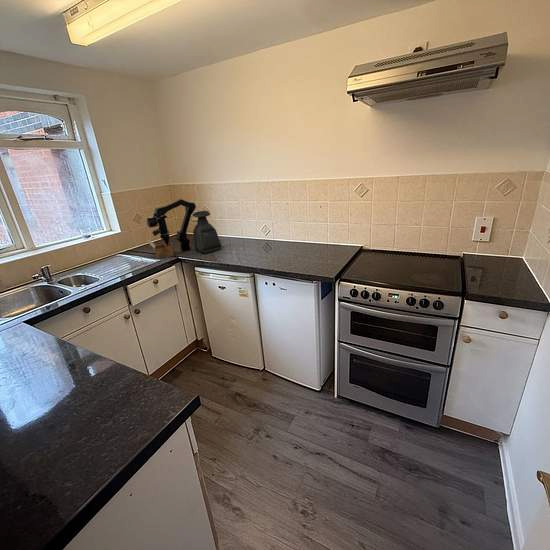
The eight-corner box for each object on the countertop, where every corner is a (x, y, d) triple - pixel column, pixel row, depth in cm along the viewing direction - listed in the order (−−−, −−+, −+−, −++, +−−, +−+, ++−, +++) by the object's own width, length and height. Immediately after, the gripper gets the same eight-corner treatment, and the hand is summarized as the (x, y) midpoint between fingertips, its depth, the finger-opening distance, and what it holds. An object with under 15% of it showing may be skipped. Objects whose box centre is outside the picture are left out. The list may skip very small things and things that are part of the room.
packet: (168, 244, 233) (164, 244, 233) (168, 245, 229) (164, 245, 229) (168, 253, 236) (164, 253, 235) (168, 255, 232) (164, 254, 231)
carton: (157, 259, 226) (154, 249, 223) (157, 255, 237) (155, 246, 234) (174, 255, 230) (172, 246, 227) (174, 251, 240) (172, 243, 238)
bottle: (222, 249, 231) (215, 211, 220) (202, 255, 223) (194, 215, 212) (213, 246, 245) (206, 209, 234) (194, 250, 237) (186, 213, 226)
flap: (154, 248, 223) (154, 249, 223) (155, 245, 234) (154, 245, 234) (148, 242, 220) (147, 242, 220) (148, 239, 231) (148, 239, 231)
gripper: (151, 224, 232) (156, 243, 237) (150, 228, 215) (156, 249, 221) (166, 222, 235) (171, 241, 240) (166, 226, 218) (171, 246, 224)
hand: (167, 244), depth 231 cm, fingers open, 7 cm apart
